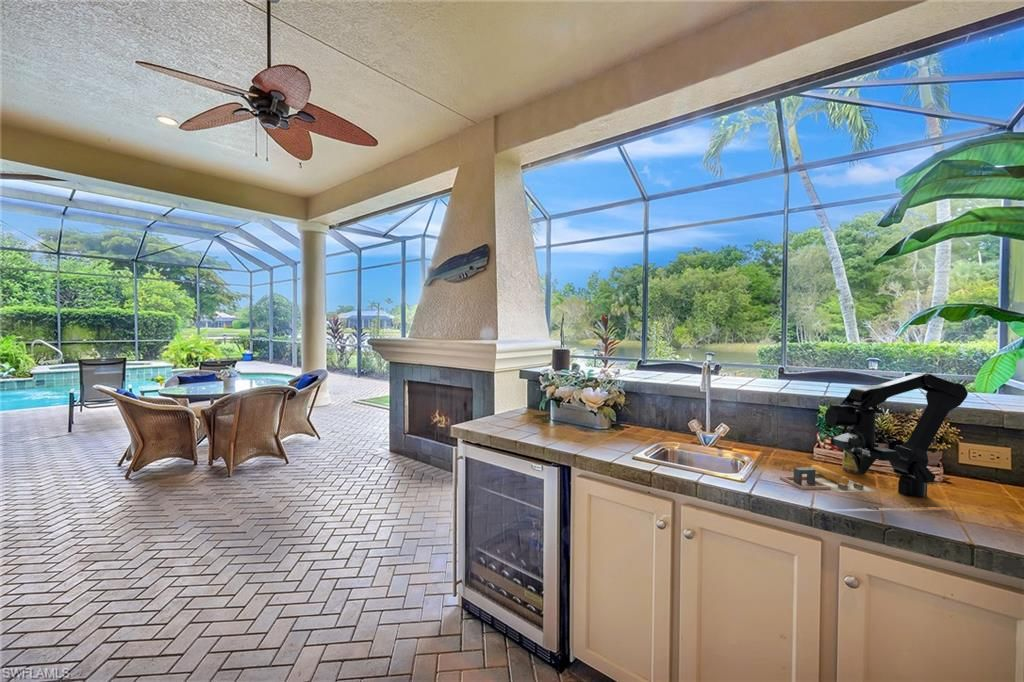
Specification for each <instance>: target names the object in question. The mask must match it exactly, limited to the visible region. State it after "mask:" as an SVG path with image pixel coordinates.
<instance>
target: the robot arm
mask: <svg viewBox="0 0 1024 682" xmlns="http://www.w3.org/2000/svg"><path fill="white" fill-rule="evenodd" d="M917 389H921V390H923V391H925V392H926V394H925V397H926V402H927V404H926V408H925V409H924V410H923V413H922V414H921V416H920V418H919V420H918V421H917V423H916V425H915V426H914V428H913V430H912V432H911V434H910V435H909V438H908V439H907V441H906V443H904V444H903V445H897V444H896V445H894V446H893V448H892V449H890V448H887V447H879V443H876V435H879V434H880V431H879V430H876V419H877V417H876V415H878V414H883V413H884V411H883V410H882V409H880V407H878V406H879V405H881V404H884V403H885V402H886V401H887V399H889V398H891V397H894V396H899V395H901V394H904V393H907V392H912V391H914V390H917ZM968 395H969V393H968V390H967V388H966V387H965V385H963V384H961V383H957V382H951V381H949V380H946V379H944V378H941V377H937V376H936V375H933V374H932V373H928V372H927V373H926V372H913V373H911V374H909V375H906V376H902V377H899V378H896V379H893V380H890V381H886V382H883V383H880V384H875V385H873V384H871V385H870V384H869V385H861V386H854V387H851V389H850V391H849V393H848V394H847V396H846V397H845V398H844V400H842V401H841V402H840V404H839V405H838V404H831V403H830V404H829V407H828V408H827V409H826V411H825V413H824V420H825V422H826V423H827V425H829V426H832V427H833V426H834V427H835V426H836V427H837V426H838V427H848V428H847V432H845V433H843V434H839V435H835V436H832V437H831V438H830V445H832V446H834V447H836V448H837V449H840V450H843V451H844V450H845V451H846V452H848V453H849V454H850V455H852V457H853V459H854V461H855V463H856V466H857V469H858V471H859V473H860V474H859V473H858V474H859V475H863V476H864V475H866V473H867V472H868V471H869V469H870V468H871V466H872V465H873V464H874V463H875V462H876V461H877V460H878V461H881V462H889V464H890V466H891V467H892V470H893V473H895V474H898V475H899V477H898V478H899V479H898V482H897V483H898V486H897V493H898V494H900V495H901V496H902V495H903V496H905V497H910V498H911V497H912V498H919V499H925V498H926V497H927V496H928V484H929V483H934V482H935V479H936V475H935V474H934V473H933V472H932V471H931V470H930V469H929V468H928V467H927V466H928V464H929V457H928V450H929V448H930V446H931V444H932V442H933V441H934V439H935V437H936V435H937V434H938V432H939V429H940V428H941V426H942V424H943V423H944V421H945V419H946V417H947V416H948V414H949V412H951V411H952V410H955V409H956V408H958V407H960V406H961V405H962V403H963V402H964V401H965V400H966V399H967V396H968ZM850 426H852V428H850ZM865 448H866V449H865Z"/></svg>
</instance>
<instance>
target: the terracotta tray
mask: <svg viewBox="0 0 1024 682" xmlns="http://www.w3.org/2000/svg"><path fill="white" fill-rule="evenodd" d="M779 480H782V481H784V482H786V483H788V485H789V484H790V485H792V486H794V487H795V488H798V489H800V490H802V491H803V490H804V491H805V490H807V491H809V490H810V491H811V490H813V491H814V490H832V488H831V487H830V486H828V485H826V484H823V483H821V482H819V481H817V480H815V485H799V484H797V483H795V482H794V475H789V476H788V475H785V476H783V475H781V476H779ZM802 480H807V476H803V475H802Z"/></svg>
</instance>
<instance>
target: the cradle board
mask: <svg viewBox="0 0 1024 682" xmlns="http://www.w3.org/2000/svg"><path fill="white" fill-rule="evenodd" d="M802 476H807V474H802ZM815 480H817V481H819V482H821V483H823V484H826V485H828V486H830V487H831V490H835V491H837V493H838V492H839V493H871V492H872V493H876V492H878V491H877V490H875V489H872V488H870V487H867V486H866V485H864V484H862V483H859V482H855V481H853V480H851V479H849V484H848V485H846V484H843V483H837V482H834V481H832V480H830V479H827V478H825V477H823V476H820V473H817V472H815Z"/></svg>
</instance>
